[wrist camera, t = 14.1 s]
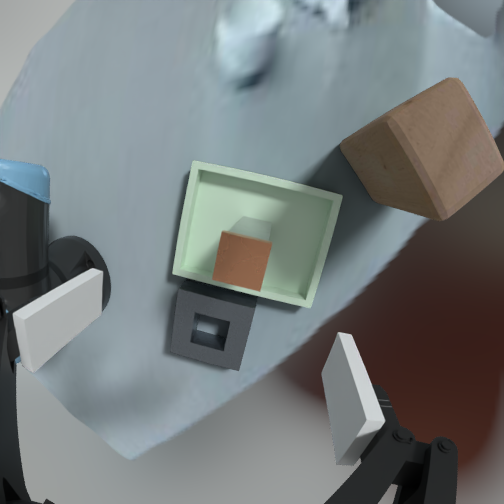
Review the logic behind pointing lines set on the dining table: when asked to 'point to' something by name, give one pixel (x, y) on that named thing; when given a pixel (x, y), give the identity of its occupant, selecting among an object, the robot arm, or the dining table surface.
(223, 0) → the dining table surface
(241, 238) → the pin
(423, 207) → the wooden block
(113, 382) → the dining table surface
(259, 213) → the tray
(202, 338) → the block
